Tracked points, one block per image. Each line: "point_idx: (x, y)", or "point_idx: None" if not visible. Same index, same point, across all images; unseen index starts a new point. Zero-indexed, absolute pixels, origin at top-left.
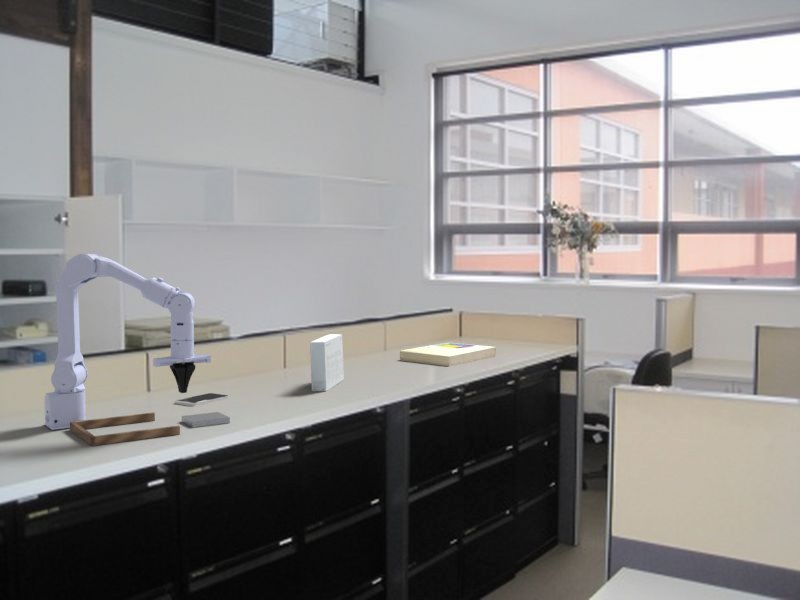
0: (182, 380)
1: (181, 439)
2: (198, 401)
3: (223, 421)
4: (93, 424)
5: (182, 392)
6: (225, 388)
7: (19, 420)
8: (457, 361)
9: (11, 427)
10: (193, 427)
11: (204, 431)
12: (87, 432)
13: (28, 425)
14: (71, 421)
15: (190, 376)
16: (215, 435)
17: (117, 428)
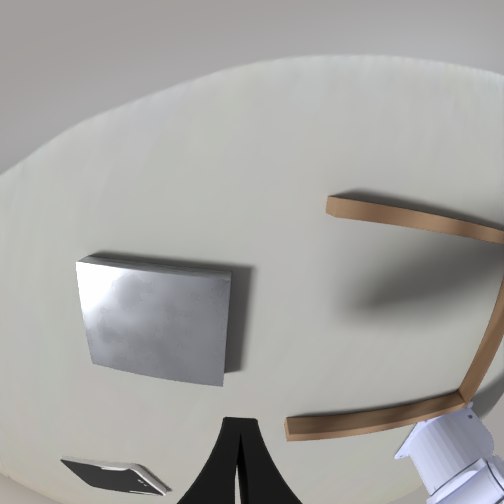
0: (262, 477)
1: (357, 120)
2: (120, 470)
3: (104, 261)
4: (434, 404)
5: (252, 420)
6: (66, 485)
7: None
8: None
9: None
10: (228, 271)
11: (223, 179)
12: None
13: None
14: (452, 418)
15: (193, 492)
16: (221, 92)
17: (407, 380)
